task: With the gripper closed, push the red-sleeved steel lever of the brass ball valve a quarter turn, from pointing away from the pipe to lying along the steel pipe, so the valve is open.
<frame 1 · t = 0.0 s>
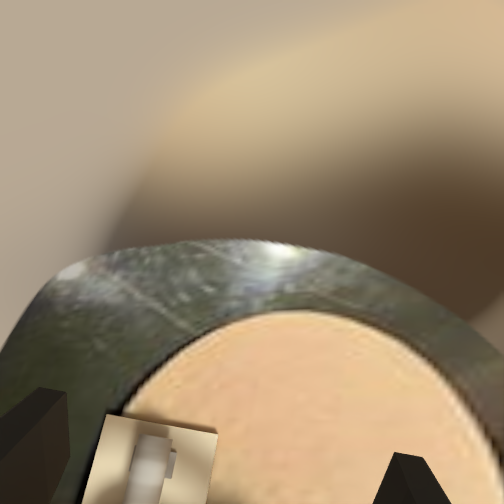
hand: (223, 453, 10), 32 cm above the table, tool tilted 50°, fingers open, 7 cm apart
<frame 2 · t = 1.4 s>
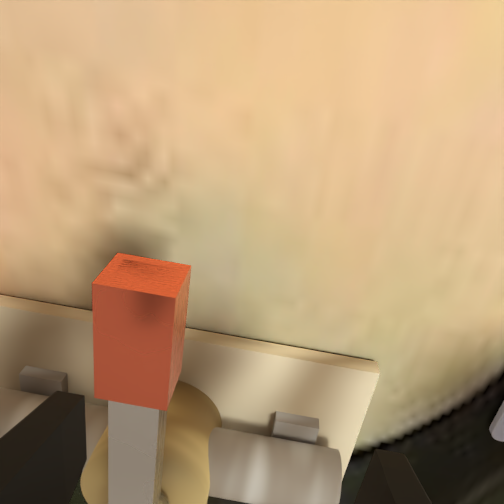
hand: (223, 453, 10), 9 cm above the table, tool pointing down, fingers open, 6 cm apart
valve lever: (138, 430, 15), point 6 cm above the table, hinge at 0.0°
valve fixture: (173, 407, 22), on the table
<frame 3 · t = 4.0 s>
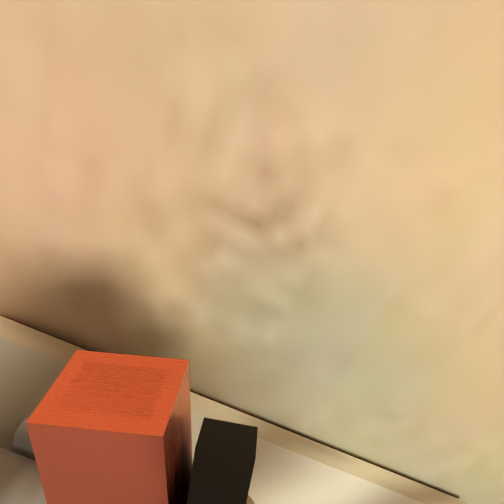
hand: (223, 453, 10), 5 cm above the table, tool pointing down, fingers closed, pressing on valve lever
valve fixture: (196, 494, 18), on the table
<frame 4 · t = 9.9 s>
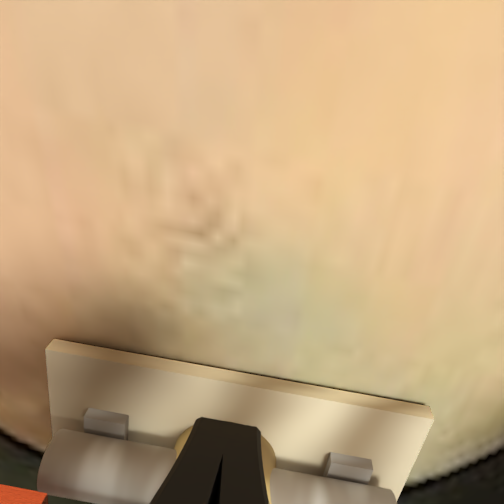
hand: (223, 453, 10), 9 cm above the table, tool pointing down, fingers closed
valve fixture: (227, 445, 23), on the table
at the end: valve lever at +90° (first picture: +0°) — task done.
